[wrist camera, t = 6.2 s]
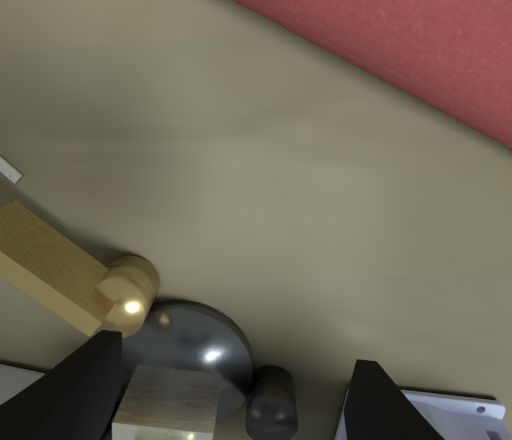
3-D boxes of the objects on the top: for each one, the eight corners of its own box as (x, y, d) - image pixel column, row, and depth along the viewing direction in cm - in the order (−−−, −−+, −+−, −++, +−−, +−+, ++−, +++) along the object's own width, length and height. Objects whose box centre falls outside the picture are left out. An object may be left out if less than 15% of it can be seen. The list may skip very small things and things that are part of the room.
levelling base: (332, 192, 20) (361, 242, 14) (280, 449, 26) (285, 558, 20) (-16, 147, 19) (-135, 180, 14) (15, 420, 26) (-58, 522, 20)
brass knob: (171, 279, 22) (147, 331, 17) (138, 313, 22) (108, 371, 18) (39, 178, 20) (-24, 208, 15) (8, 219, 20) (-60, 259, 16)
